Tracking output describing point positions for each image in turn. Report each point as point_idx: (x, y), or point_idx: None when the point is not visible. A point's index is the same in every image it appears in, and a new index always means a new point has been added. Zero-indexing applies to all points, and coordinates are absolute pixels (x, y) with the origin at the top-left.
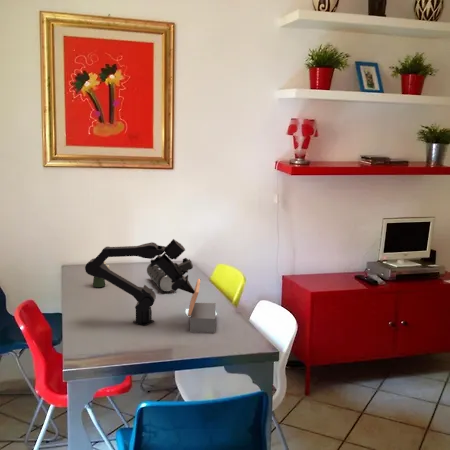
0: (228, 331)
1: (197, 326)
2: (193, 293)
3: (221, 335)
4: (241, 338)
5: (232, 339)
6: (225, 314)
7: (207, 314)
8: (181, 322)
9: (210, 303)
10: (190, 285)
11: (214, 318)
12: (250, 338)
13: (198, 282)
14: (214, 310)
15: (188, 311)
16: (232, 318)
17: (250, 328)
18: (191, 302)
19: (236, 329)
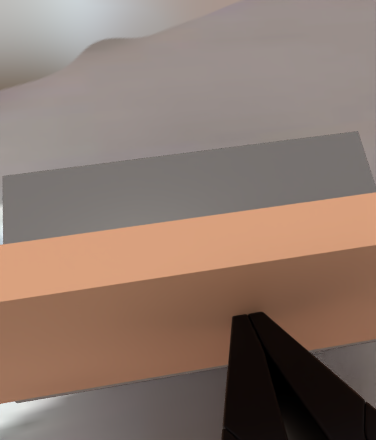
0: (274, 110)
1: None
2: (90, 361)
3: None
4: (345, 47)
5: (372, 82)
6: (4, 156)
7: (288, 193)
8: (202, 411)
9: (15, 214)
10: (281, 417)
11: (354, 135)
12: (331, 14)
13: (47, 270)
14: (185, 158)
15: (337, 347)
16: (71, 112)
17: (204, 21)
18: (358, 324)
19: (235, 77)
